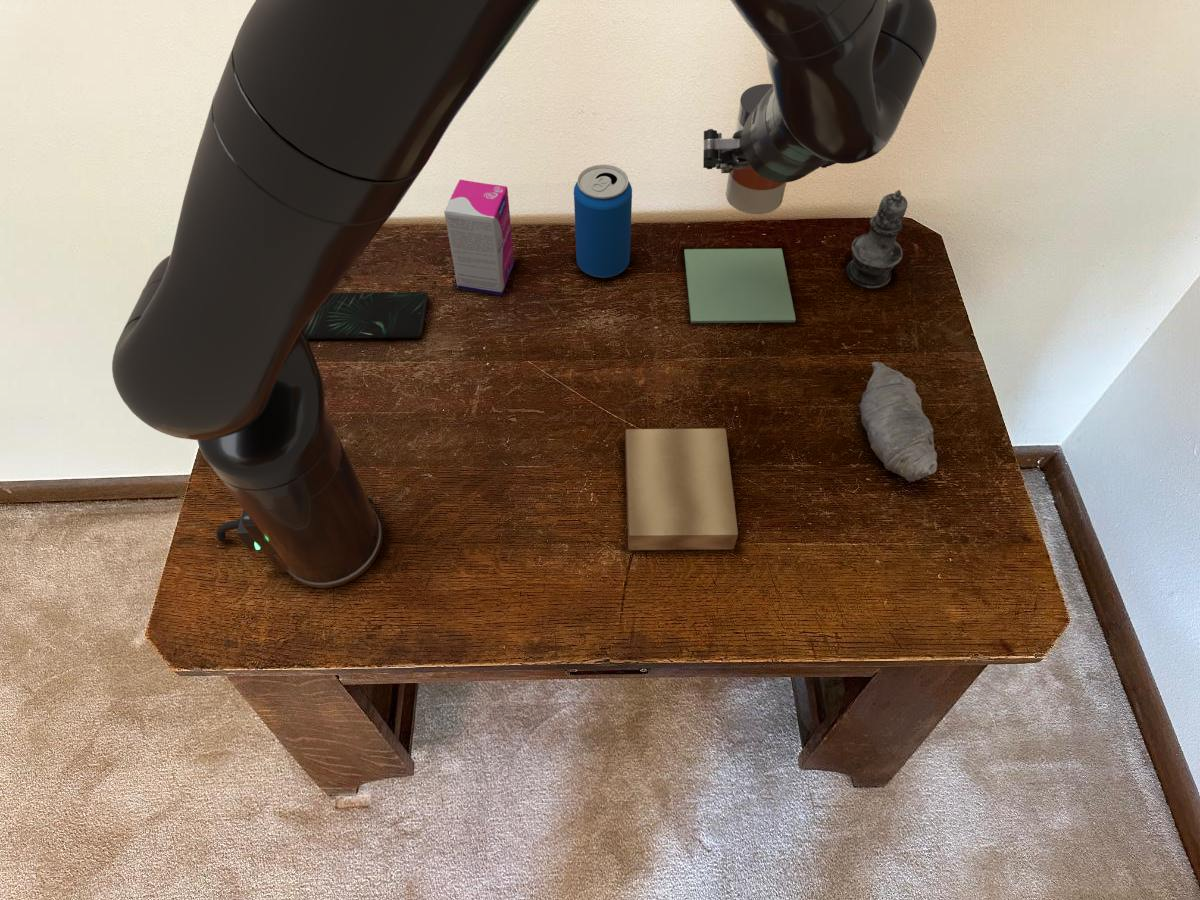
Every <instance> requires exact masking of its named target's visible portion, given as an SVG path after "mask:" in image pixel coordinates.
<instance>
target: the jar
mask: <svg viewBox="0 0 1200 900" xmlns="http://www.w3.org/2000/svg"><path fill="white" fill-rule="evenodd" d="M772 86H773V84H772V83H761V84H756V85H753V86H750V87H749V88H746V89H745V90H744V91H743V92H742V94H741V95H740V98H739V106H738V111H737V117H736V125H735V131H734V133H735V132H737V131H740V130H743V128H744V125H745V123H746V120H747V118H748V116H749V115H750V113H751V112H752V110H753V109H754V108H755V107H756V105H757V104H758V103H759V102H760V100H761V99H762V98H763V97H764V95H765V94H766V93H767V92H768V91H769V89H770V88H771V87H772ZM787 183H788V182H774V181H771V180H768V179H766V178H764V177H762V176H761V175H759V174H758V173H757V172H756V171H755V170H754V169H749V170H734V169H732V170H731V171H730V172H729V173H728V176H727V182H726V188H725V199H726V200H727V202H728V204H729V205H730V206H731V207H733V208H734V209H736V210H738V212H742V213H745V214H749V215H764V214H766V215H767V214H769V213H771V212H773V211H776V210H777V209H779V207H780V206H781V205H782V203H783V200H784V195H785V191H786V187H787Z"/></svg>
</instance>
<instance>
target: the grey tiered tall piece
mask: <svg viewBox="0 0 1200 900" xmlns="http://www.w3.org/2000/svg"><path fill="white" fill-rule="evenodd" d="M907 209H908V201H907V198H906V197H905V196H904V195H902V191H901V190H900V189H898V190H896V191H895V192H894V193H893V192H892V193H889V194H886V195H885V196H883V198H882V199H881V200H880V203H879V206H878V209H877V212H876V214H875V215H874V216H872V218H870V222H869V223H870V224H869V225H870V229H869V232H868V233H864V234H861V235H859V236H857V237H856V238H855V239H853V241H852V243H851V246H850V247H851V248H850V249H851V255H852V260H851V261H849V262H848V264H847V265H846V270H845V271H846V275H847V277H848V279H850V280H851V282H853V284H855V285H857V286H860V287H862V288H864V289H865V288H866V289H880V288H883V287H885V286H886V285H888V284H889V283H890V281H891V279H892V271H891V270H893V269H894V268H895V267H896V265H898V264H899V263H900V262H901V260H902V259H903V254H904V252H903V249H902V247H901V244H899V243H898V242H897V241H896V239H897V236H898V234H900V233H901V232H902V231H903V228H904V223H903V222H902V221H903V219H904V217H905V214H906V211H907Z"/></svg>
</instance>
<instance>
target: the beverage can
mask: <svg viewBox="0 0 1200 900" xmlns="http://www.w3.org/2000/svg"><path fill="white" fill-rule="evenodd" d="M632 204H633V187H632V184H631V183H630V181H629V177H628V175H627V173H626V172H625V171H624V170H622V169H621V168H620V167H617V166H615V165H612V164H611V165H610V164H596V165H591V166H589V167H587V168H585V169H583V170H582V171H581V172H580V174H578V176H577V181H576V182H575V184H574V187H573V206H574V231H575V233H574V234H575V255H576V256H575V257H576V264H577V266H578V267H579V269H580V270H581V271H582V272H583V273H585V274H587V275H589V276H591V277H595V278H603V279H604V278H605V279H606V278H610V277H615V276H617V275H620V274H621V273H623V272H624V271H625V270H626V269H627V268H628V266H629V265H630V260H631V239H632V238H631V237H632V236H631V234H632V209H633V207H632V206H633V205H632Z"/></svg>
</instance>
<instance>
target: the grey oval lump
mask: <svg viewBox="0 0 1200 900" xmlns="http://www.w3.org/2000/svg"><path fill="white" fill-rule="evenodd" d="M871 367H872V370H873V372H872V375H871V376H870V378H869V380H868V381H867V385H866V389H865V391H864V392H863V393H862V395H861V401H860V403H859V411H860V416H861V418H860V421H861V425H862V426H863V427H864V430H865V431H866V435H867V439H868V440H867V441H868V443H869V444H870V449H871V450H872V451H873V452H874V454H875V456H877V458H878V459H879V460H880V462H881V463H883V467H884V469H885V470H887V471H890V472H892V473H893V474H897V475H898V476H900V477H902V478H905V480H906V481H908V482H915V481H918V480H921V479H923V478H926V477H928V476H930V475H932V474H933V475H934V474H935V473H936V472H937V468H938V461H937V458H938V453H937V451H936V450H935V442H934V440H935V439H934V428H933V426H932V424H931V421H930V419H929V418H928V417H927V416H926V414H925V413H924V411H923V409H922V399H921V396H920V395H919V394H918V393H917V390H916V384H915V383H914V381H913V380H912V379H910V377H907V376H905V375H904V374H903V373H902V372H900V371H898V370H895V369H893V368H890V367H889V366H886V365H885V364H884V363H883V362H880V361H872V362H871Z"/></svg>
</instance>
